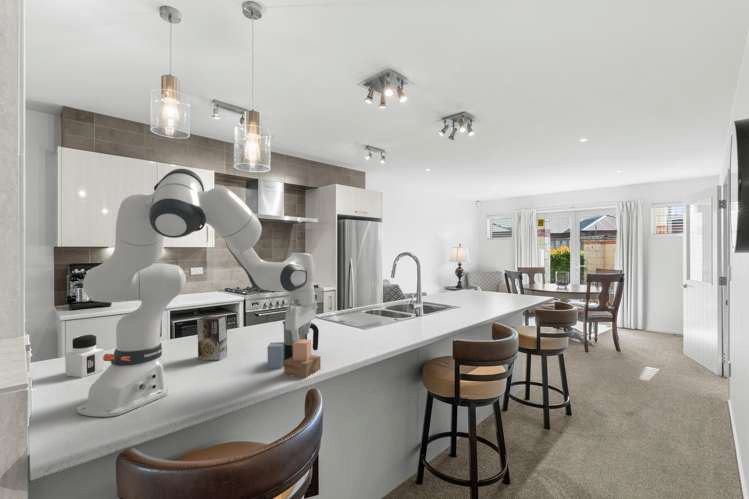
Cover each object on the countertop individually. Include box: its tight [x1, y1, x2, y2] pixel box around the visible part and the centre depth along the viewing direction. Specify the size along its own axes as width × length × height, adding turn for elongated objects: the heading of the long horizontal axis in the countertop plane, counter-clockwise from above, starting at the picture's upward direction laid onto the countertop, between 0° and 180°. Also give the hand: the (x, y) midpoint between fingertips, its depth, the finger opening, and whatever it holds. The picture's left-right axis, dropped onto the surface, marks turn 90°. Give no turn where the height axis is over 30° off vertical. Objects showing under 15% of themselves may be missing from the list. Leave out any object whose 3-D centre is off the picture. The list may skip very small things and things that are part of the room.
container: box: [64, 334, 105, 378], centre depth 128 cm, size 8×8×13 cm
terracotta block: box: [293, 339, 312, 361], centre depth 129 cm, size 5×5×6 cm
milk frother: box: [282, 320, 320, 361], centre depth 148 cm, size 14×16×15 cm
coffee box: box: [196, 315, 228, 361], centre depth 145 cm, size 9×6×16 cm
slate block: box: [267, 341, 285, 369], centre depth 135 cm, size 5×5×8 cm
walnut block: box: [283, 354, 321, 378], centre depth 129 cm, size 9×9×5 cm
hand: (301, 337), depth 130 cm, fingers open, 8 cm apart
